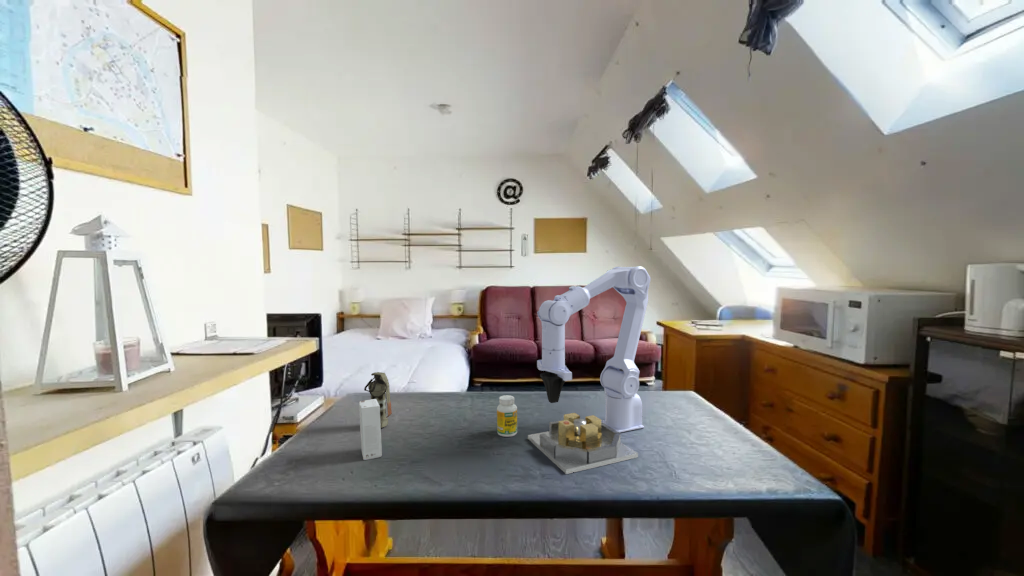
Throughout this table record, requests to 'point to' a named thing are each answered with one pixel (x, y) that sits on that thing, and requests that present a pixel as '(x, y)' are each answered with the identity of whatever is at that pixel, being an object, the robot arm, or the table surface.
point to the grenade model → (380, 395)
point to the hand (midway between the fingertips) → (553, 401)
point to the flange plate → (579, 465)
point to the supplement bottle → (506, 416)
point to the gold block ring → (588, 432)
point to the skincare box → (370, 429)
